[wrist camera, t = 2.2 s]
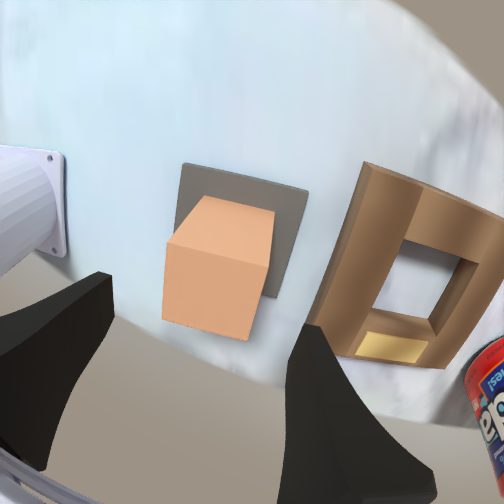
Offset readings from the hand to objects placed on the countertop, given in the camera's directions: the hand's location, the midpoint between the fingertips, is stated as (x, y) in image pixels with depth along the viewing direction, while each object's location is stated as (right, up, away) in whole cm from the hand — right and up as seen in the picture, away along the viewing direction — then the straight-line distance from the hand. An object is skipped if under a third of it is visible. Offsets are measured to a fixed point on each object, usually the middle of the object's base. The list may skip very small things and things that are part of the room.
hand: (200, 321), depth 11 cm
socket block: (+12, +1, +8) cm, 15 cm away
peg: (+1, +3, +7) cm, 8 cm away
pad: (+1, +4, +7) cm, 8 cm away
